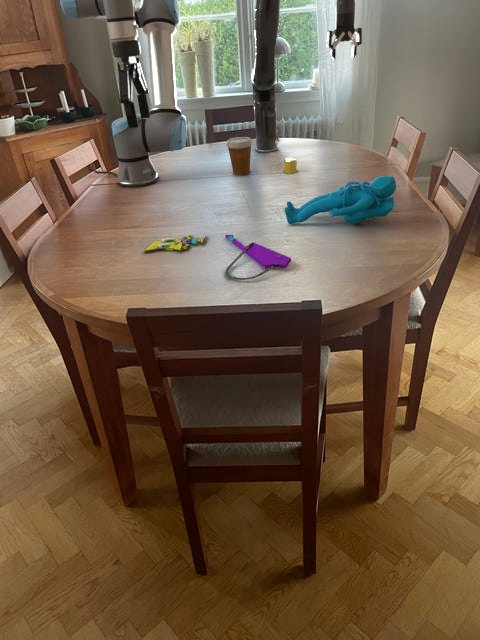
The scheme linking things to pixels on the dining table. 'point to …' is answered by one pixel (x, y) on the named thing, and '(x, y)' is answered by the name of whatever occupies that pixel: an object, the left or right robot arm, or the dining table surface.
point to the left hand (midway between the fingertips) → (139, 122)
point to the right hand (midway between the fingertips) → (343, 58)
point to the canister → (290, 165)
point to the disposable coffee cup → (240, 154)
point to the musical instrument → (259, 257)
